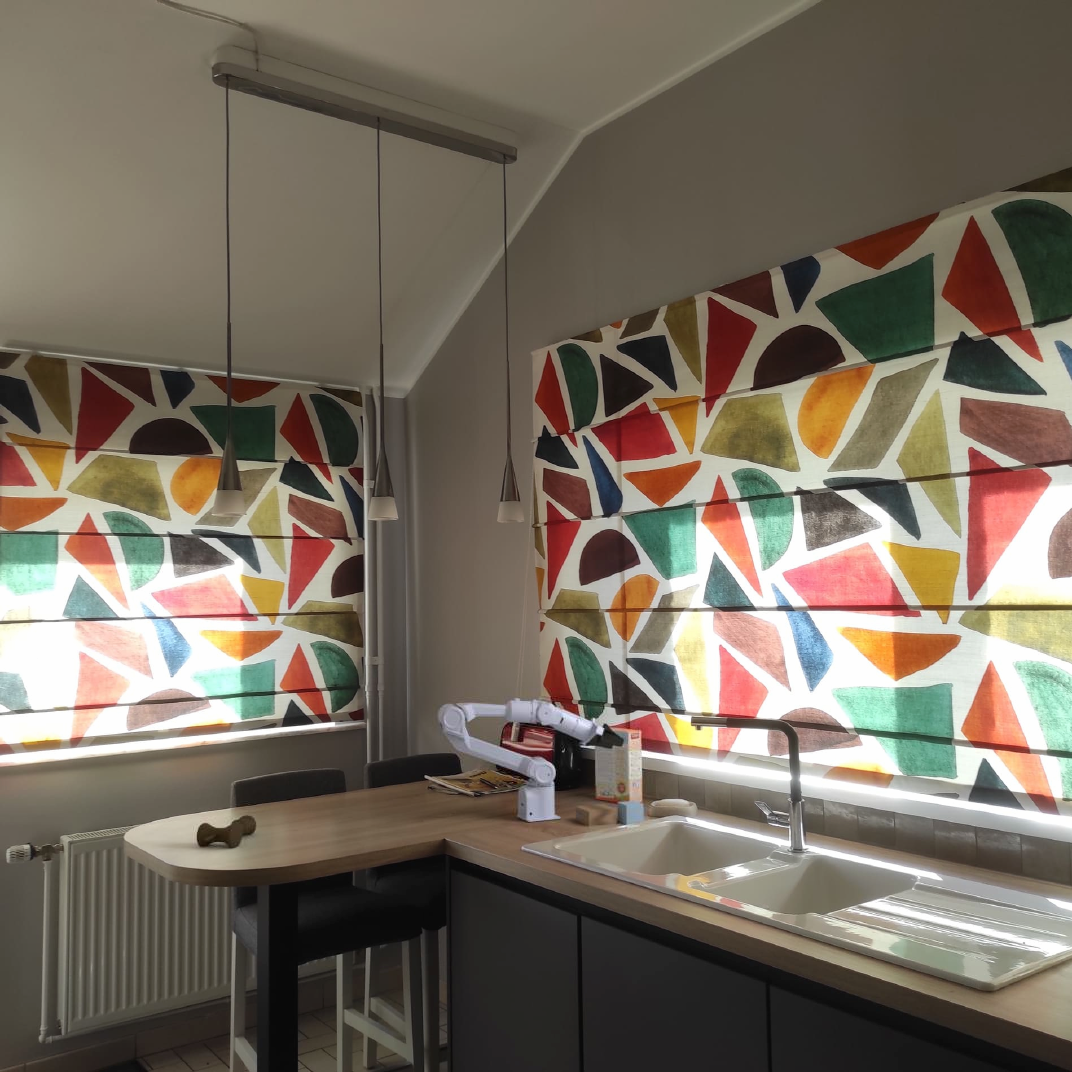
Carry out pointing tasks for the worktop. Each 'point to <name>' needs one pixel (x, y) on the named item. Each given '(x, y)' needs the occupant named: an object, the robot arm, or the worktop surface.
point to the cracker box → (620, 769)
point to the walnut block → (596, 815)
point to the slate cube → (630, 812)
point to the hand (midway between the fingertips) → (617, 744)
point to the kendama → (226, 832)
